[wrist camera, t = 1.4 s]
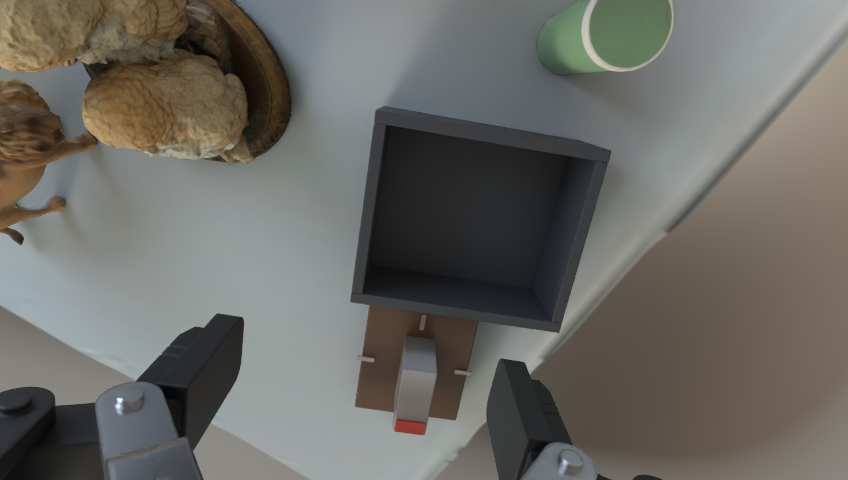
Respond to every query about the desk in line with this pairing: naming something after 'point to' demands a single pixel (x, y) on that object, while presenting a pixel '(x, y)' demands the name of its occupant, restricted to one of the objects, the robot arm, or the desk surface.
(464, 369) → the panel
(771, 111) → the desk surface
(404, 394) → the tap knob
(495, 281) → the gray open box
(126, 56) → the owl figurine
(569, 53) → the green tube
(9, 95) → the lion figurine
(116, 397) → the robot arm
